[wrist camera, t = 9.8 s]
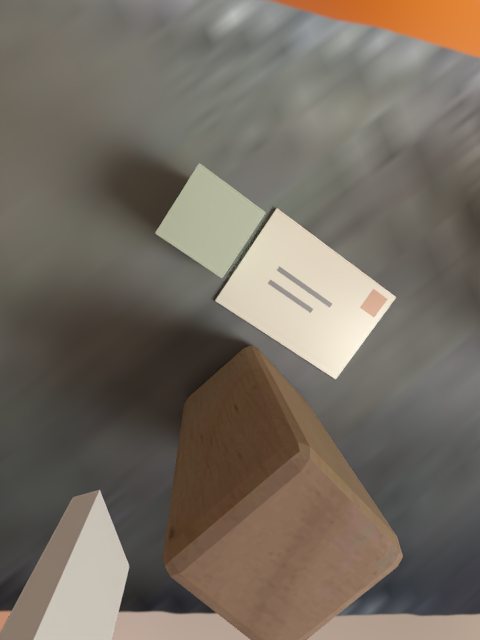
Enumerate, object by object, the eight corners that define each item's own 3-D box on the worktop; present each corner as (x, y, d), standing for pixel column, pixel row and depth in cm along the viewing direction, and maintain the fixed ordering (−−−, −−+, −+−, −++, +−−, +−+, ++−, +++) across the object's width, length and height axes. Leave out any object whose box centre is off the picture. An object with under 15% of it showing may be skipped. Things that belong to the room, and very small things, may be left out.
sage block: (167, 237, 33) (155, 233, 25) (200, 184, 32) (199, 163, 24) (218, 272, 34) (222, 278, 26) (251, 221, 33) (265, 212, 25)
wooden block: (180, 400, 36) (151, 574, 17) (249, 339, 35) (303, 445, 16) (241, 458, 38) (279, 673, 19) (307, 401, 38) (417, 563, 18)
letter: (215, 300, 34) (215, 300, 34) (276, 208, 33) (276, 208, 33) (334, 378, 37) (335, 379, 37) (394, 296, 36) (396, 297, 36)
